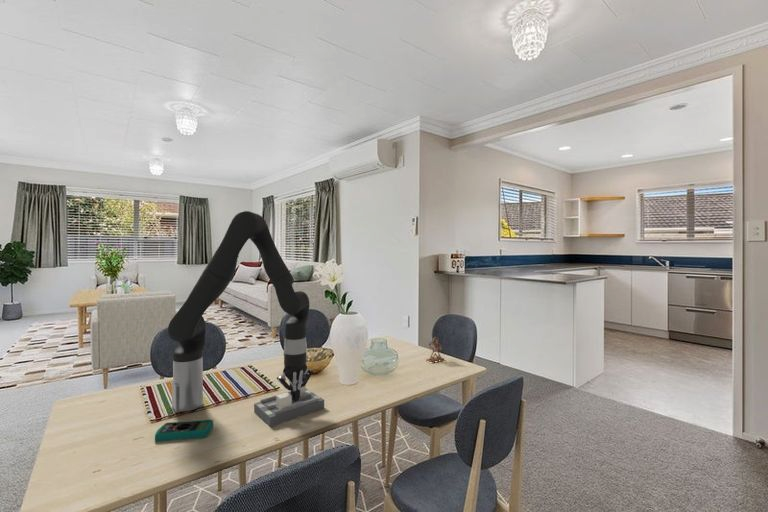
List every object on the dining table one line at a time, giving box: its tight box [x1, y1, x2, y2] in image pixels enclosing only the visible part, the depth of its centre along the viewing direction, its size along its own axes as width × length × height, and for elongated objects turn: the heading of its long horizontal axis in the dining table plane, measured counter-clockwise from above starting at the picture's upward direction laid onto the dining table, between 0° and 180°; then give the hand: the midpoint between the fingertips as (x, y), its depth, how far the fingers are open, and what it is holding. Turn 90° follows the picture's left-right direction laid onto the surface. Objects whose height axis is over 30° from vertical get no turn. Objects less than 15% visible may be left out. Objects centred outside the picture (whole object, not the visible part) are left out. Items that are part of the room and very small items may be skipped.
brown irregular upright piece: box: [425, 336, 445, 363], centre depth 179 cm, size 9×4×12 cm, turn 122°
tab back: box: [300, 385, 307, 395], centre depth 130 cm, size 4×3×4 cm
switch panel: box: [253, 388, 325, 427], centre depth 125 cm, size 20×13×4 cm, turn 131°
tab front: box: [275, 391, 292, 410], centre depth 120 cm, size 4×3×4 cm
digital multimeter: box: [154, 419, 214, 443], centre depth 109 cm, size 7×15×3 cm, turn 100°
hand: (295, 400), depth 123 cm, fingers closed
